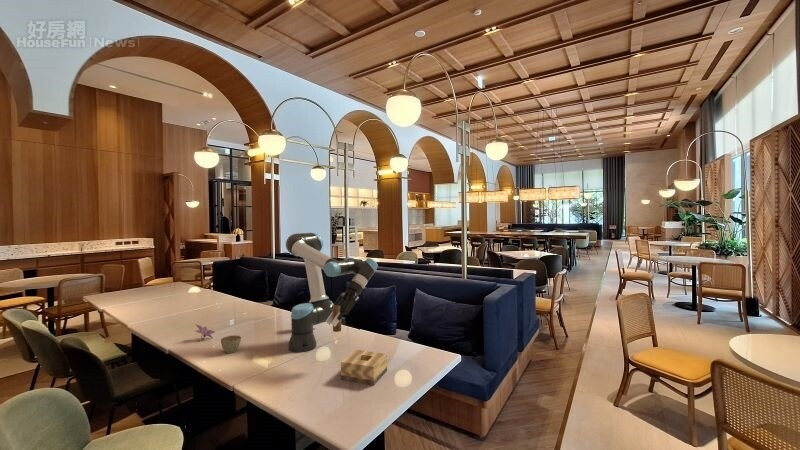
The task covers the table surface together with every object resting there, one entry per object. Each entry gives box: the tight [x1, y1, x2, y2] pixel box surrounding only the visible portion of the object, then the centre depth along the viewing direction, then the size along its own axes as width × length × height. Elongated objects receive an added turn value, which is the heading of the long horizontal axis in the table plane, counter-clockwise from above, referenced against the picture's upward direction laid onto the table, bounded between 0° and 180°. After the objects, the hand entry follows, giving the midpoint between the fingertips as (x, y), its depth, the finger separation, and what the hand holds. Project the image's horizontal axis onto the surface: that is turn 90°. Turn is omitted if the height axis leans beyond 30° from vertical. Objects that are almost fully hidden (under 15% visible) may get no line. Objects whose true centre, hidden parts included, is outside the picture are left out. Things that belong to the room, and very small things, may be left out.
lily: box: [194, 323, 216, 343], centre depth 202 cm, size 12×12×10 cm
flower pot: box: [220, 334, 242, 354], centre depth 184 cm, size 10×10×7 cm
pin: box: [332, 305, 342, 333], centre depth 165 cm, size 4×4×12 cm
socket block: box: [340, 349, 388, 386], centre depth 155 cm, size 16×15×8 cm
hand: (330, 324), depth 163 cm, fingers closed on pin, 4 cm apart
